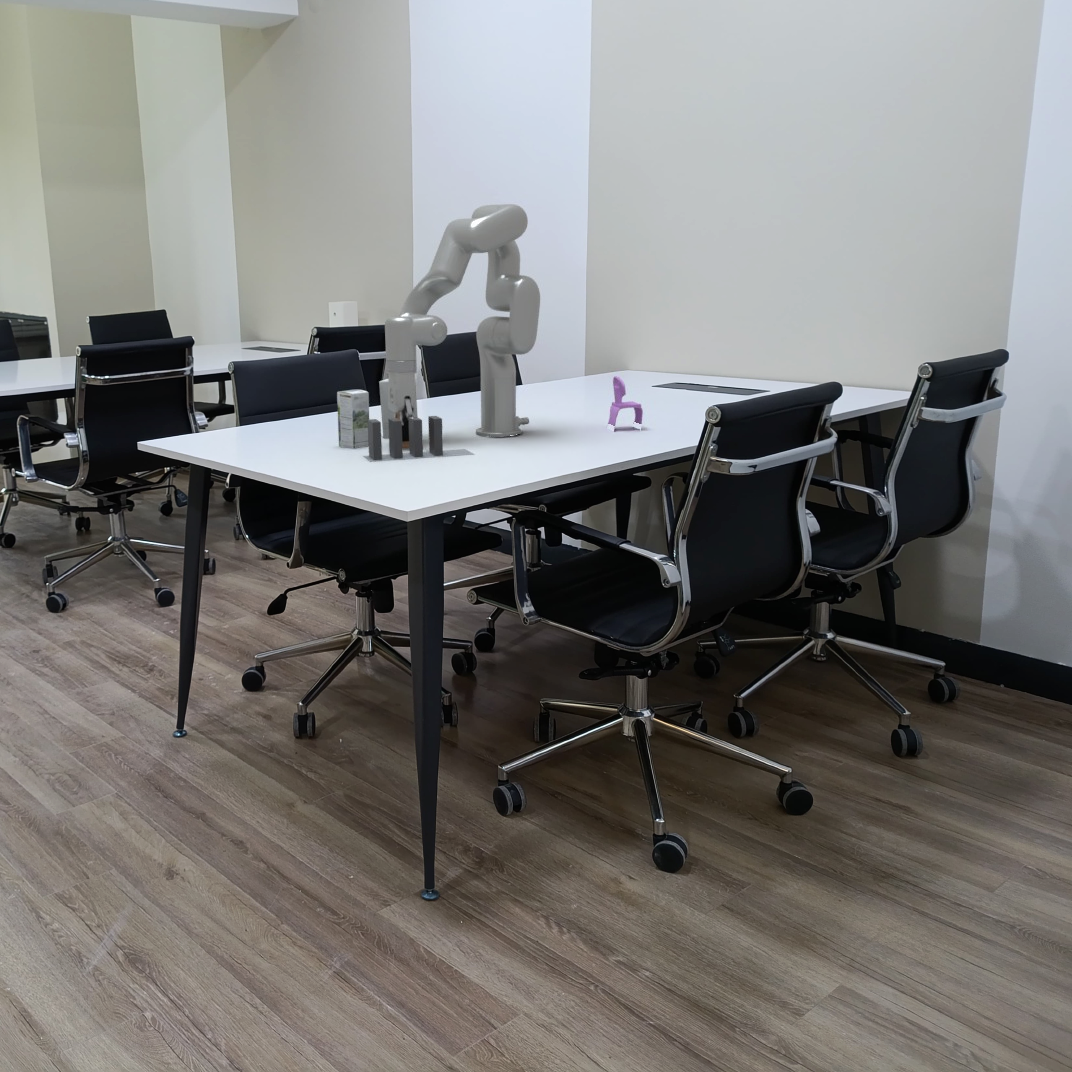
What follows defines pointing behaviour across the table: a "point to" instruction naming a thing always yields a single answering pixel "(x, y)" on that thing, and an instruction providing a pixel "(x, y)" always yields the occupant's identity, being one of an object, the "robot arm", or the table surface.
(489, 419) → the robot arm
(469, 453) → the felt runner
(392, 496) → the table surface
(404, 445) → the domino
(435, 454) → the domino
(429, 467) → the table surface
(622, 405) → the toy chair
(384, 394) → the skincare box
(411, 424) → the domino
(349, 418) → the syrup box
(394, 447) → the domino
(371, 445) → the domino
